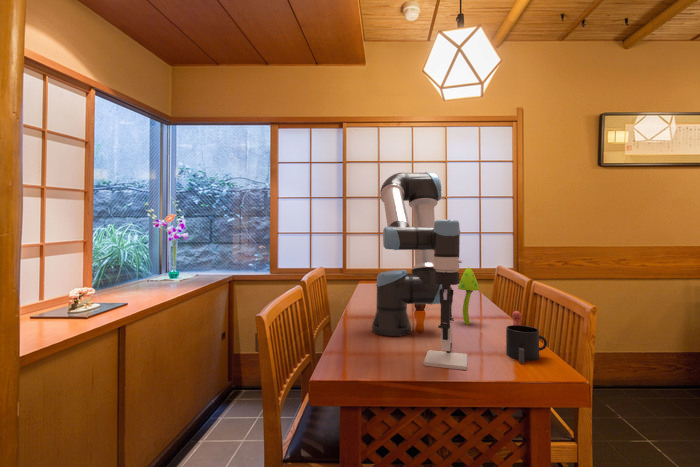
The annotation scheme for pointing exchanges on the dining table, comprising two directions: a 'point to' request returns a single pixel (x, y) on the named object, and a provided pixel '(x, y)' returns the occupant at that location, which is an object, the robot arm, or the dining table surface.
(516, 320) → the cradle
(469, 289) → the mushroom
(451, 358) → the plate
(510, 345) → the mug
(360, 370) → the dining table surface
